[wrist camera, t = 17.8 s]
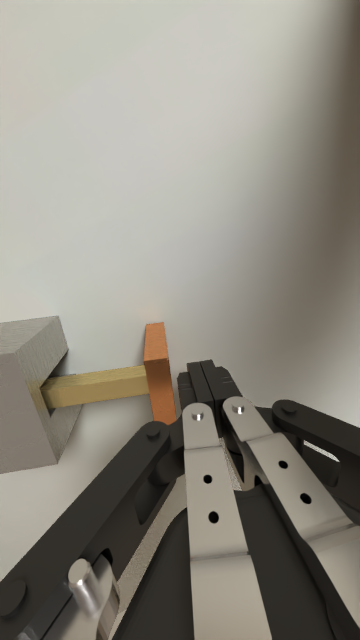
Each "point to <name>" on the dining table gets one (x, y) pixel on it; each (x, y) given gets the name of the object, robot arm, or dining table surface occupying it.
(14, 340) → the block
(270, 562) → the robot arm
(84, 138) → the dining table surface
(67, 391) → the lock pin
